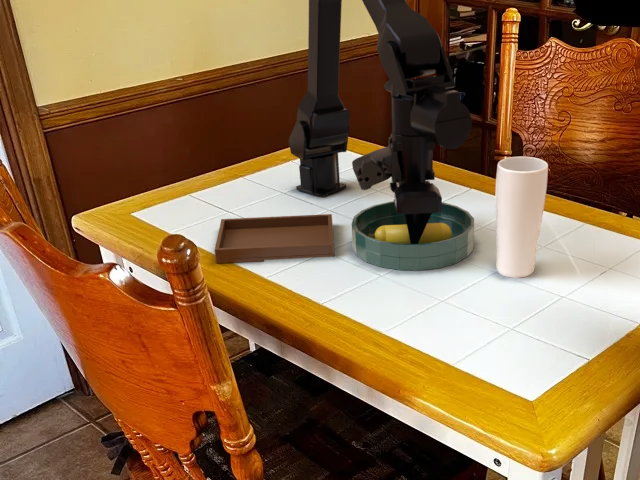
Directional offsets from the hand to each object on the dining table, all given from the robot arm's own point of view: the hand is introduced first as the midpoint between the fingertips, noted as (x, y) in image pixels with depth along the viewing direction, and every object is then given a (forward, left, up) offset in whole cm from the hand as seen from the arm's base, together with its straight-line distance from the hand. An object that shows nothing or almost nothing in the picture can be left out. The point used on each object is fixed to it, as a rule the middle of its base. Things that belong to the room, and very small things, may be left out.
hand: (413, 239), depth 126 cm
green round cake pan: (0, 0, -1) cm, 1 cm away
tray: (+12, -17, -1) cm, 21 cm away
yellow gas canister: (0, 0, -1) cm, 1 cm away
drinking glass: (-2, +17, -1) cm, 17 cm away
